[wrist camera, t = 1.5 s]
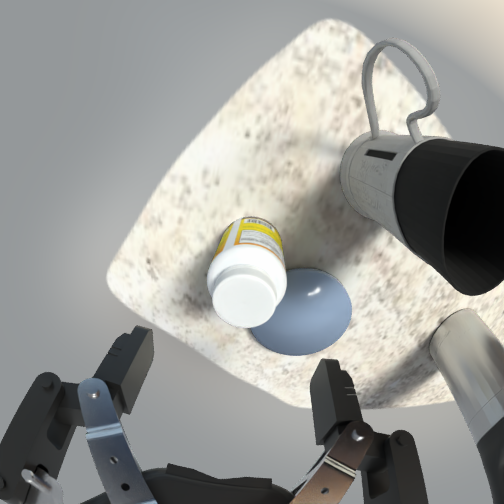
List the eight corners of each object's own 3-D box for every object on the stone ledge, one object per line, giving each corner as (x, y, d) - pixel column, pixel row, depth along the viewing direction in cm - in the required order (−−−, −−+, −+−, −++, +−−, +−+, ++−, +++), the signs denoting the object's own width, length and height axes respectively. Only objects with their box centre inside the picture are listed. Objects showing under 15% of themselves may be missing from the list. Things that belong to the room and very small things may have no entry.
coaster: (363, 277, 26) (366, 282, 26) (330, 354, 31) (332, 359, 30) (259, 258, 26) (259, 263, 25) (242, 342, 31) (241, 348, 30)
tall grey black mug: (364, 236, 25) (444, 334, 11) (290, 103, 20) (326, 45, 7) (431, 195, 23) (538, 254, 9) (369, 65, 18) (468, 8, 4)
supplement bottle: (235, 276, 27) (220, 345, 18) (213, 225, 25) (182, 278, 16) (289, 259, 26) (299, 325, 17) (270, 206, 24) (272, 249, 15)
